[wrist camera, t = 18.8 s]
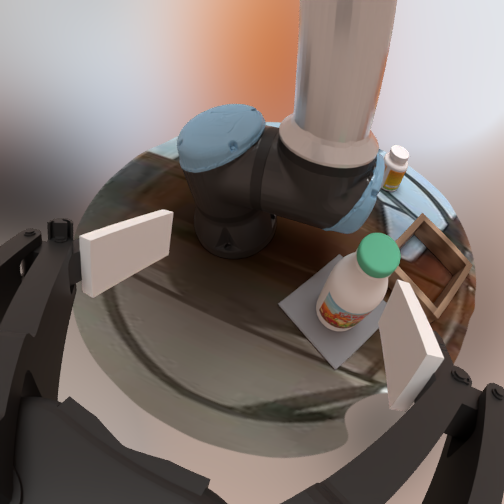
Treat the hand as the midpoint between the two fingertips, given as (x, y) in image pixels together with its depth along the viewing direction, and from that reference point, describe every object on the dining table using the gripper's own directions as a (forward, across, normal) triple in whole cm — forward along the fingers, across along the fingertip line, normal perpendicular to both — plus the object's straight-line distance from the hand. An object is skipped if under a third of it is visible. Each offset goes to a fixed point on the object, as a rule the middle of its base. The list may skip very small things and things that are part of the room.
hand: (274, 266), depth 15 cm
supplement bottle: (+50, +13, +6) cm, 52 cm away
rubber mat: (+28, +8, -15) cm, 33 cm away
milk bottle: (+27, +8, -15) cm, 32 cm away
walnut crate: (+36, +22, -8) cm, 43 cm away
